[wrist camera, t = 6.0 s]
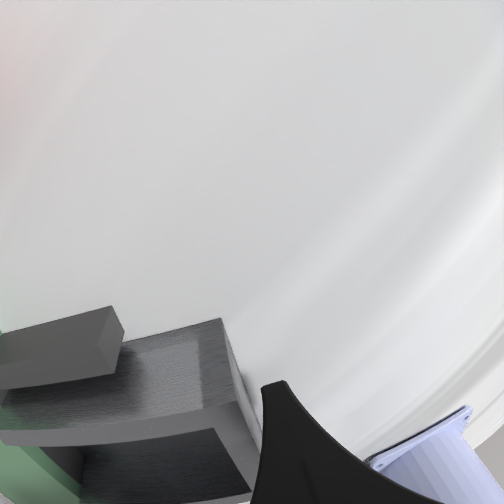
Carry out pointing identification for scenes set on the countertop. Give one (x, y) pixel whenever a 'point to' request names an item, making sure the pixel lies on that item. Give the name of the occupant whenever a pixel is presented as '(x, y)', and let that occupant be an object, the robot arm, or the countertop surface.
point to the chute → (151, 422)
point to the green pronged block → (48, 372)
